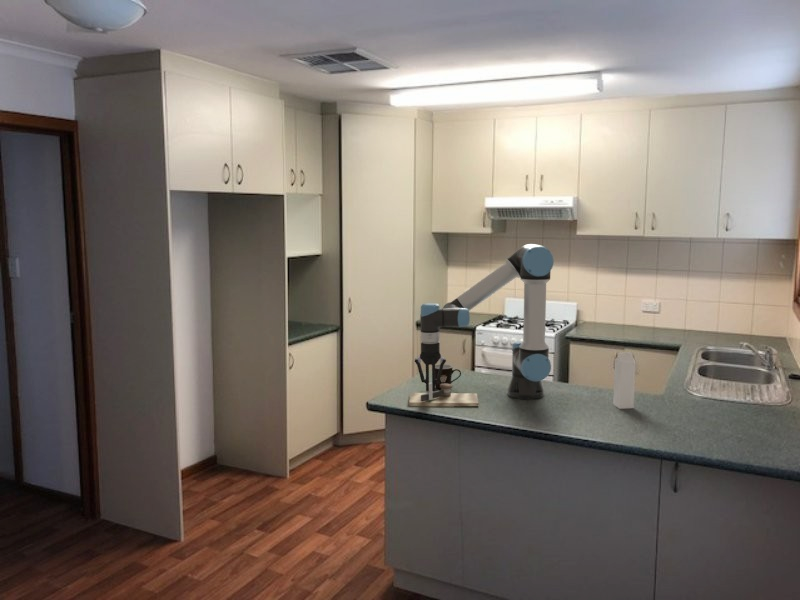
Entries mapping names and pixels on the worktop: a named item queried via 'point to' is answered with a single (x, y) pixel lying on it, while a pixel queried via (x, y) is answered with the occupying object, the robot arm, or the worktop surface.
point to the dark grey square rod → (439, 392)
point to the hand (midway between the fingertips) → (430, 398)
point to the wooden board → (445, 400)
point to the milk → (624, 381)
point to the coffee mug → (445, 375)
